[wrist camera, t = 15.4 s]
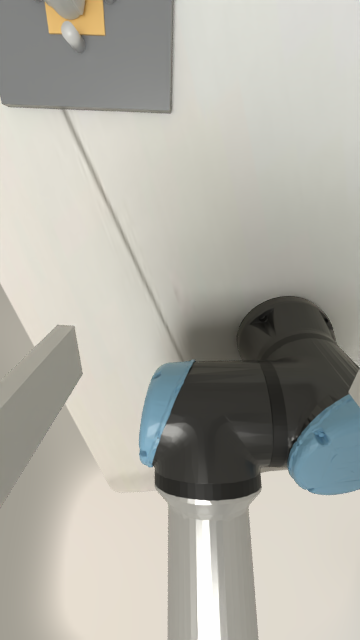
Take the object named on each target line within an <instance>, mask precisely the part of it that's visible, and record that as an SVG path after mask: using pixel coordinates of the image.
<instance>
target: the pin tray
mask: <svg viewBox="0 0 360 640" xmlns="http://www.w3.org/2000/svg"><path fill="white" fill-rule="evenodd" d="M172 28H173V0H85V5H84V12H83V15H80V16H79V17H78V18H76V19H73V20H69V19H65V18H63V17H61V16H60V15H59V14H58V13H57V12H56V11H55V10H54V8H53V7H51V6H49V5H47V4H46V2H45V1H44V0H0V97H1V101H2V104H3V105H6V106H8V107H25V108H50V109H76V110H101V111H126V112H151V113H171V78H172Z"/></svg>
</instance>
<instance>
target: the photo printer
mask: <svg viewBox="0 0 360 640" xmlns="http://www.w3.org/2000/svg"><path fill="white" fill-rule="evenodd" d="M44 1H45V2H46V4H47V5H49V6H51V7H53V8H54V10H55V11H56V12H57V13H58V14H59V15H60V16H61V17H63V18H65V19H69V20H73V19H76V18H78V17H79V16H80V15H83V12H84V5H85V0H44Z"/></svg>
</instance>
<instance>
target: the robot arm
mask: <svg viewBox="0 0 360 640" xmlns="http://www.w3.org/2000/svg"><path fill="white" fill-rule="evenodd" d="M237 345H238V349H239V353H240V356H241V358H242V360H241V361H197V362H196V360H191V361H188V362H174V363H166V364H164V365H162V366H160V367H159V368H158V369H157V370H156V372H155V373H154V375H153V377H152V379H151V382H150V384H149V387H148V391H147V394H146V398H145V402H144V407H143V412H142V418H141V425H140V434H139V448H140V453H139V455H140V460H141V462H142V463H143V464H144V465H147V466H148V467H153V466H154V467H155V488H156V490H157V491H158V492H159V493H160V495H161V496H162V497H163V498H164V499H165V500H166V501H167V503H168V640H258V629H257V615H256V604H255V589H254V576H253V563H252V549H251V536H250V523H249V509H248V507H249V504H250V503H251V502H252V501H253V500H254V499H255V498H256V496H257V495H258V494H259V493H260V492H261V488H262V487H261V476H260V468H261V467H288V471H289V474H290V475H291V477H292V478H293V479H294V480H295V482H296V483H297V484H298V485H299V486H300V487H301V488H303V489H305V490H306V489H307V490H308V491H309V492H312V493H314V494H321V495H336V494H343V493H348V492H352V491H355V490H358V489H360V368H359V367H358V366H357V365H356V364H355V363H354V362H353V361H352V360H351V359H350V358H349V357H348V356H347V355H346V354H345V353H344V351H343V350H342V349H341V348H340V347H339V346H338V345H337V343H336V339H335V335H334V331H333V327H332V324H331V322H330V320H329V318H328V317H327V315H326V314H325V313H324V312H323V311H322V310H321V309H320V308H319V307H318V306H316V305H315V304H314V303H312V302H310V301H308V300H306V299H303V298H299V297H291V296H287V297H278V298H274V299H271V300H268V301H266V302H264V303H262V304H260V305H258V306H257V307H255V308H254V309H253V310H252V311H251V312H249V314H248V315H247V316H246V317H245V318H244V320H243V321H242V323H241V325H240V327H239V330H238V334H237ZM82 374H83V373H82V367H81V361H80V356H79V350H78V344H77V338H76V333H75V327H74V326H68V325H57V326H56V327H55V328H54V329H53V330H52V331H51V332H50V333H49V334H48V335H47V336H46V337H45V338H44V339H43V340H42V341H41V342H40V343H39V344H37V345H36V346H35V347H34V348H33V349H32V350H31V351H30V352H29V353H28V355H27V356H25V357H24V358H23V359H22V360H21V361H20V362H19V363H18V364H17V365H16V366H15V367H14V368H13V369H12V370H11V371H10V372H9V373H8V374H7V375H6V376H5V377H4V378H3V379H2V380H1V381H0V508H1V506H2V505H3V503H4V501H5V500H6V498H7V497H8V495H9V493H10V492H11V490H12V488H13V487H14V485H15V484H16V482H17V480H18V478H19V477H20V475H21V474H22V472H23V471H24V469H25V467H26V466H27V464H28V462H29V461H30V459H31V457H32V456H33V454H34V452H35V451H36V449H37V448H38V446H39V444H40V443H41V441H42V440H43V438H44V436H45V435H46V433H47V431H48V429H49V428H50V426H51V425H52V423H53V422H54V420H55V418H56V417H57V415H58V413H59V412H60V410H61V409H62V407H63V405H64V404H65V402H66V400H67V399H68V397H69V395H70V394H71V392H72V391H73V389H74V387H75V386H76V384H77V382H78V381H79V379H80V378H81V376H82Z"/></svg>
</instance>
